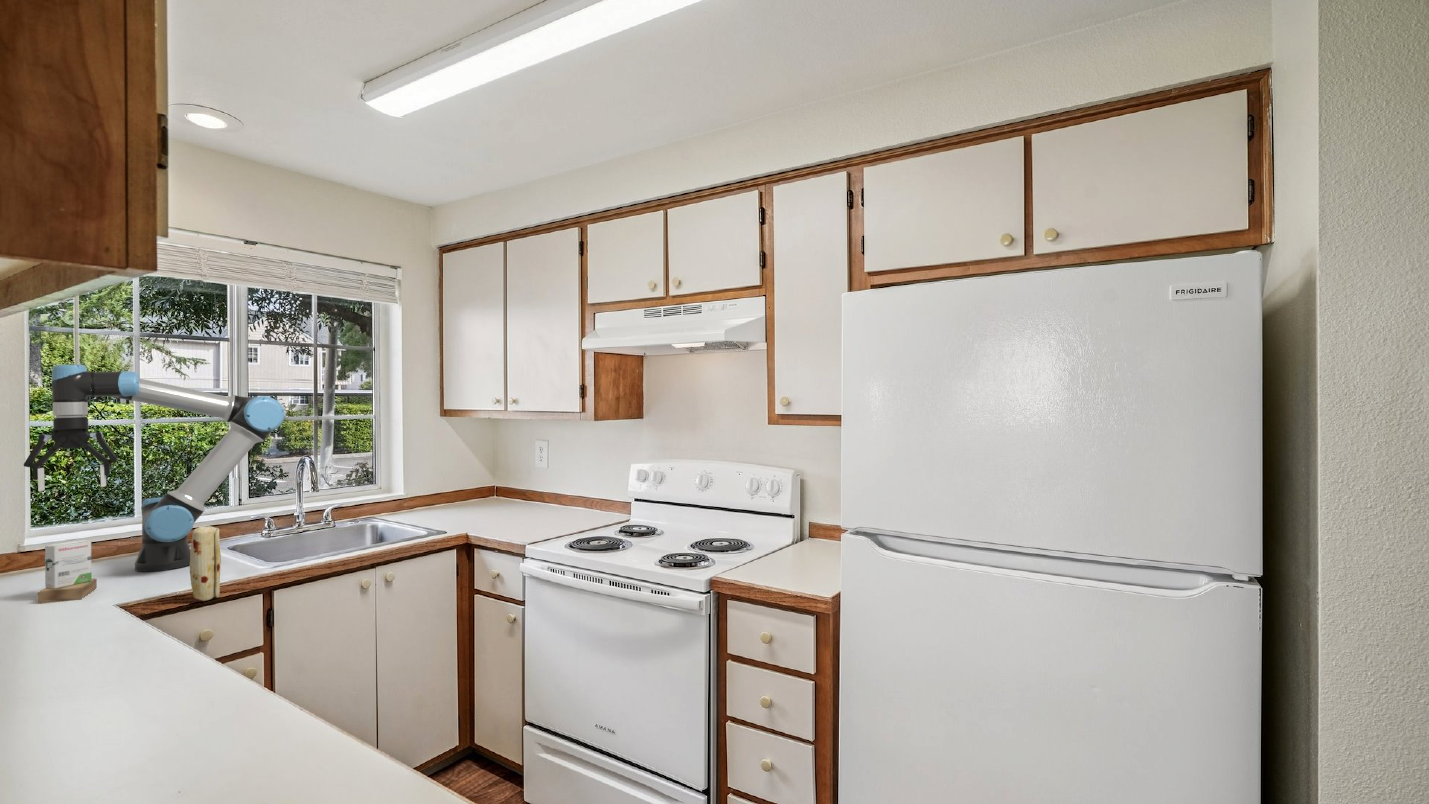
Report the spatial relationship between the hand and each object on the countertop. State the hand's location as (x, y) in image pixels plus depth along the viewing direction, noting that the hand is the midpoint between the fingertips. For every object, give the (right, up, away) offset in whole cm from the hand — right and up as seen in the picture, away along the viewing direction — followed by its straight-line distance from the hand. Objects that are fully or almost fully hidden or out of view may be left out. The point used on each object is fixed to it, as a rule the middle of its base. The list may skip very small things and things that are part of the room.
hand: (73, 488), depth 201 cm
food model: (+51, -29, -15) cm, 60 cm away
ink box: (+9, -26, -11) cm, 29 cm away
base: (+9, -29, -11) cm, 32 cm away
